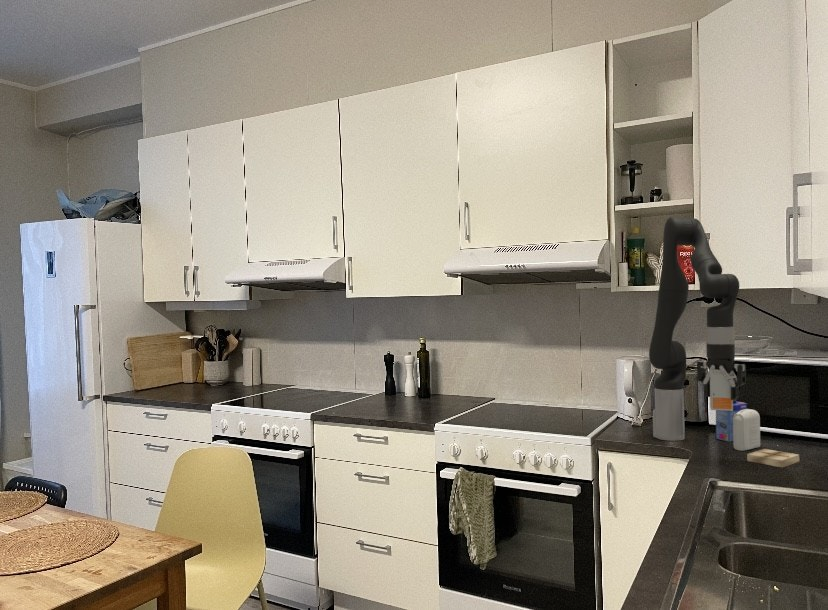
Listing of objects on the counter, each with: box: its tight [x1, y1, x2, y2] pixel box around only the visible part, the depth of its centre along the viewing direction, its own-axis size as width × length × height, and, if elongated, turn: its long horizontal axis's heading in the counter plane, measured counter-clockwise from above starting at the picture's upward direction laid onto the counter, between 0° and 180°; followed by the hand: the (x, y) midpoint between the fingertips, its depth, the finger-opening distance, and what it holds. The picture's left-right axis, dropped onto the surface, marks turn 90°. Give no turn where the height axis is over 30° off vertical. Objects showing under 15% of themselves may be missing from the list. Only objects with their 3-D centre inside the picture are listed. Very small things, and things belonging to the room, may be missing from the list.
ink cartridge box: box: [715, 397, 748, 443], centre depth 221 cm, size 10×6×14 cm, turn 119°
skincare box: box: [709, 369, 734, 411], centre depth 193 cm, size 6×4×12 cm
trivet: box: [746, 448, 800, 468], centre depth 192 cm, size 10×10×2 cm
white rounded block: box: [732, 408, 761, 452], centre depth 208 cm, size 10×4×12 cm, turn 123°
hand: (721, 398), depth 193 cm, fingers closed on skincare box, 7 cm apart
